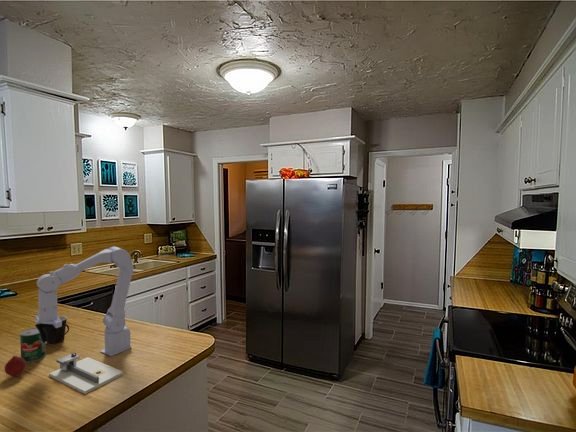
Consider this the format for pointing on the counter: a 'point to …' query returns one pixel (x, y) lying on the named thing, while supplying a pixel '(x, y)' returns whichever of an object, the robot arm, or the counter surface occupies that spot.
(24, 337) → the canned tomato
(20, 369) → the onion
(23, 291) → the counter surface
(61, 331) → the coffee mug
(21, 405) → the counter surface
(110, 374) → the rail board
